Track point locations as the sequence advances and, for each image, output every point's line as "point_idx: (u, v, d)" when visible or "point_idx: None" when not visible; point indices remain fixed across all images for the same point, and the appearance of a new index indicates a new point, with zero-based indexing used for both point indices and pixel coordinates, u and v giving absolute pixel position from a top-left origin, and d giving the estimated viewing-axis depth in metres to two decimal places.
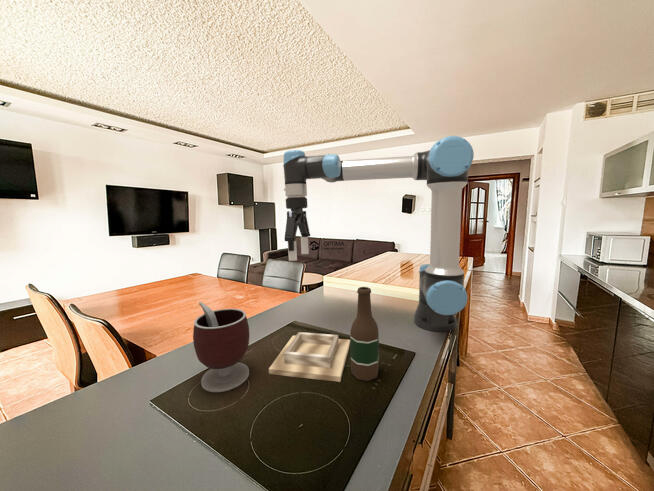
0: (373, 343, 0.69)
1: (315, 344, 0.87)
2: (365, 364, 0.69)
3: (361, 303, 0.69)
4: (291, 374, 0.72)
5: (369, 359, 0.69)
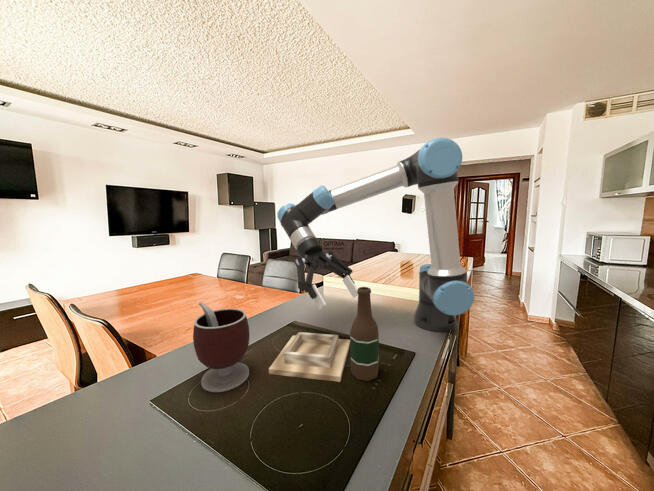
0: (373, 343, 0.69)
1: (315, 344, 0.87)
2: (365, 364, 0.69)
3: (361, 303, 0.69)
4: (291, 374, 0.72)
5: (369, 359, 0.69)
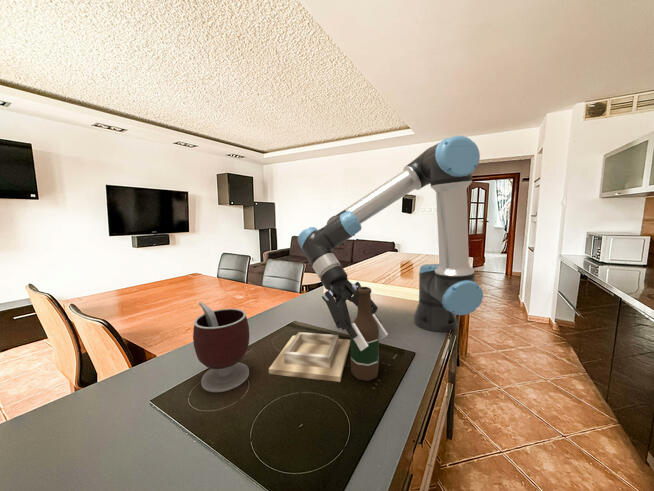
0: (373, 343, 0.69)
1: (315, 344, 0.87)
2: (365, 364, 0.69)
3: (361, 303, 0.69)
4: (291, 374, 0.72)
5: (370, 359, 0.69)
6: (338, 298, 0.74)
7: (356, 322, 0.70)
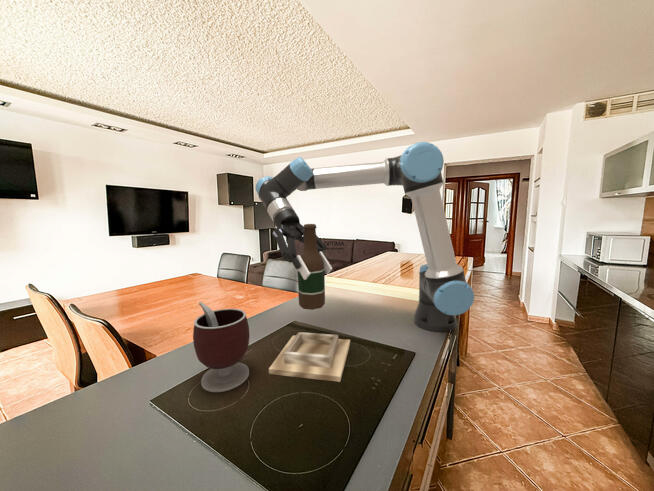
0: (317, 274, 0.75)
1: (315, 344, 0.87)
2: (310, 293, 0.75)
3: (306, 237, 0.75)
4: (291, 374, 0.72)
5: (313, 289, 0.75)
6: (288, 236, 0.79)
7: (302, 256, 0.76)
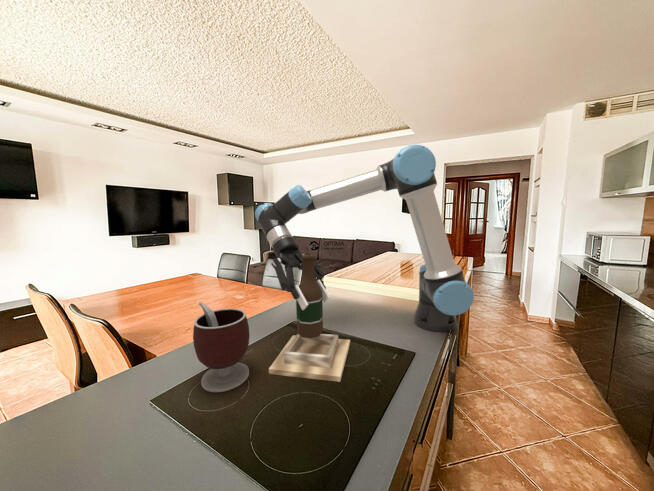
0: (315, 304, 0.76)
1: (315, 344, 0.87)
2: (308, 323, 0.76)
3: (304, 267, 0.76)
4: (291, 374, 0.72)
5: (311, 318, 0.76)
6: (286, 265, 0.81)
7: (300, 285, 0.77)
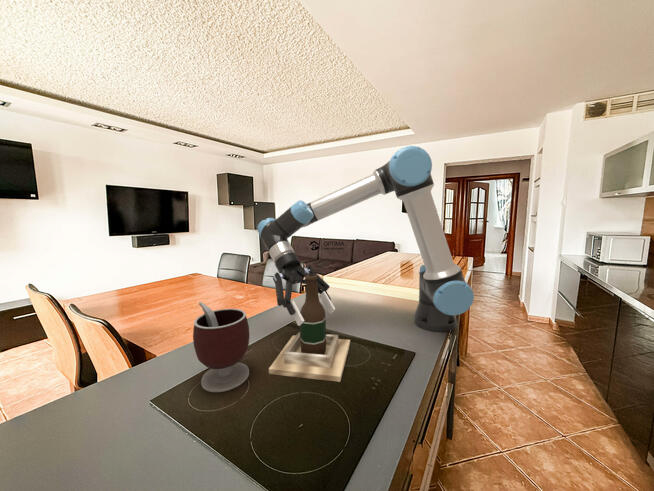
0: (318, 324, 0.77)
1: None
2: (312, 343, 0.77)
3: (308, 288, 0.78)
4: (291, 374, 0.72)
5: (315, 339, 0.77)
6: (287, 280, 0.81)
7: (304, 306, 0.79)
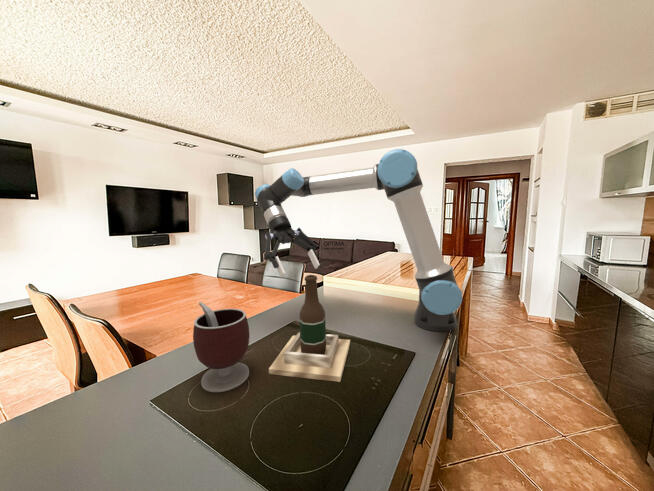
0: (318, 325, 0.77)
1: None
2: (311, 344, 0.77)
3: (308, 289, 0.77)
4: (291, 374, 0.72)
5: (315, 339, 0.77)
6: (277, 240, 0.93)
7: (304, 306, 0.78)
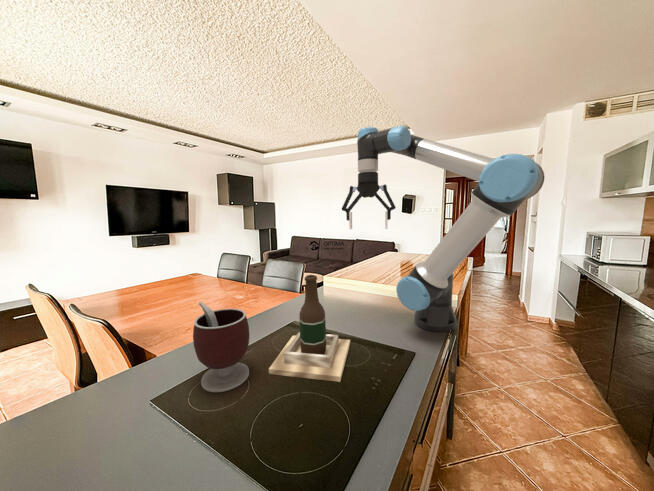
0: (318, 325, 0.77)
1: None
2: (311, 344, 0.77)
3: (308, 289, 0.77)
4: (291, 374, 0.72)
5: (315, 339, 0.77)
6: None
7: (304, 306, 0.78)
